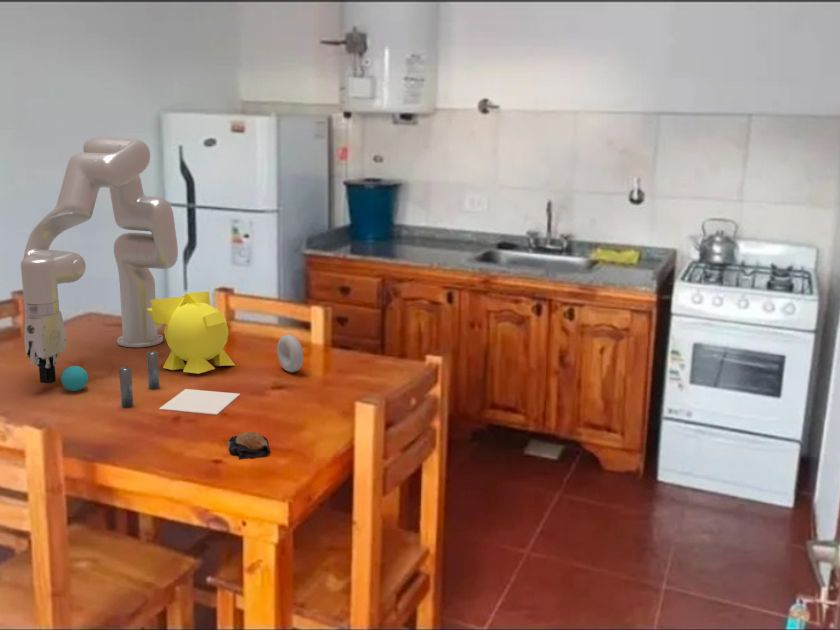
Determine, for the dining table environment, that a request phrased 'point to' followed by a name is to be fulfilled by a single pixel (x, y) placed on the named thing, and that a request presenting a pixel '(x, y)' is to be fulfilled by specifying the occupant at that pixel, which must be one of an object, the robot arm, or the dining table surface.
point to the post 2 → (153, 370)
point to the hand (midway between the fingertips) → (48, 382)
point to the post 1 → (126, 387)
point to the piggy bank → (192, 332)
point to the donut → (290, 353)
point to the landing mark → (200, 401)
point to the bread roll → (249, 446)
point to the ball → (74, 378)
